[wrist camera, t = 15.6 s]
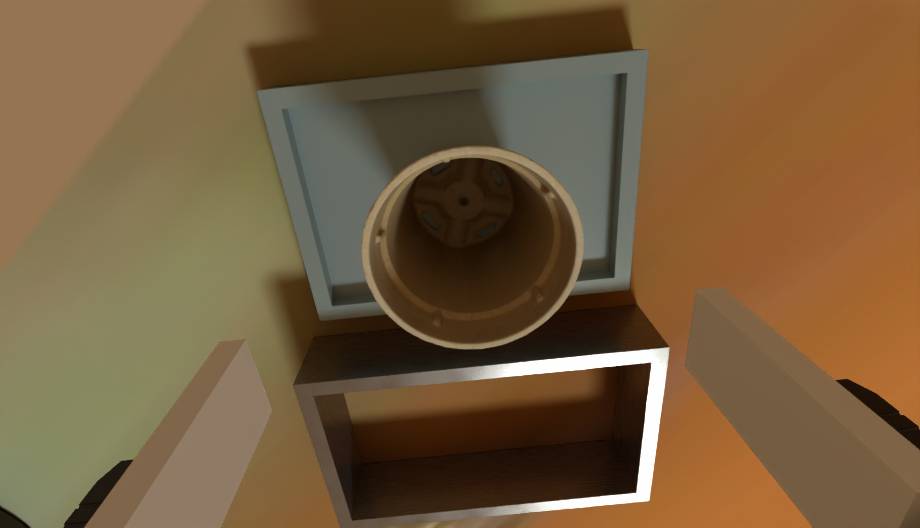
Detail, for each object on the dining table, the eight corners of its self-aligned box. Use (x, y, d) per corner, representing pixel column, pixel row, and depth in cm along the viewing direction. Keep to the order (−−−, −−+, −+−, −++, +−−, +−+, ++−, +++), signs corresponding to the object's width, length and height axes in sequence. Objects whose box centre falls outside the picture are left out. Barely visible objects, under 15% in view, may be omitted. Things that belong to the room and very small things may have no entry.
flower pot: (436, 79, 24) (434, 96, 16) (574, 171, 26) (630, 223, 19) (356, 221, 27) (323, 292, 19) (486, 291, 30) (502, 378, 22)
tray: (327, 305, 31) (319, 321, 29) (269, 87, 25) (256, 90, 23) (618, 275, 31) (629, 289, 29) (633, 48, 25) (648, 49, 23)
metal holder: (353, 473, 38) (341, 530, 34) (313, 337, 32) (293, 384, 27) (624, 446, 38) (648, 500, 33) (637, 304, 32) (669, 347, 27)
